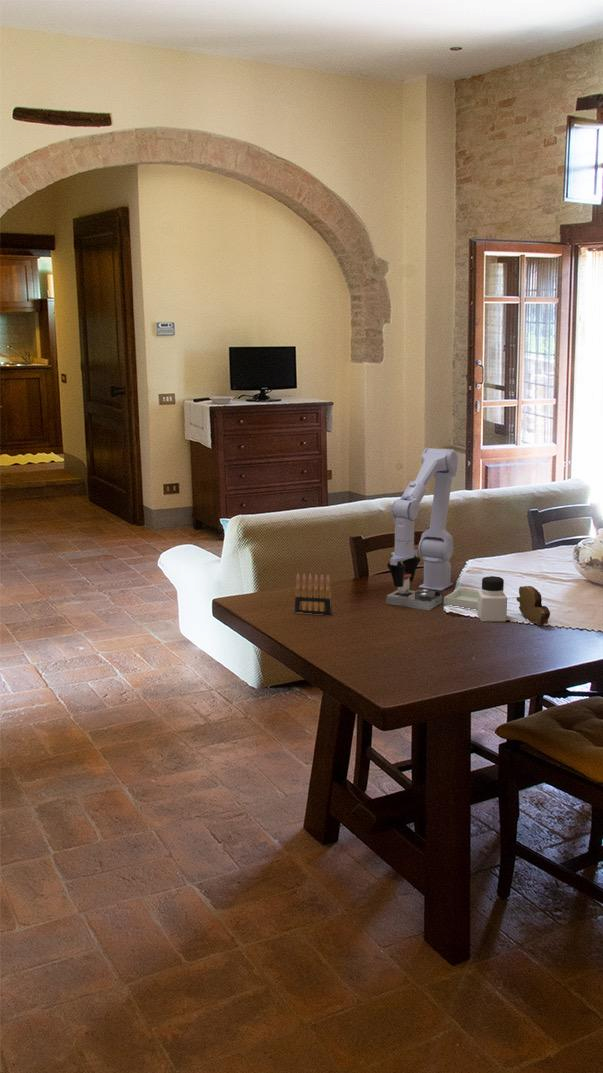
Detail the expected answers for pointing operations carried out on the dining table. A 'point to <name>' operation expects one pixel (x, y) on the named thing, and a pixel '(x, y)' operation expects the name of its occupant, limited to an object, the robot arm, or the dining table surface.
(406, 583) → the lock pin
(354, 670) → the dining table surface
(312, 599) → the ammunition clip
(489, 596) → the medicine bottle
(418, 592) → the grey fixture block
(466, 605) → the tray
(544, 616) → the wooden carving
